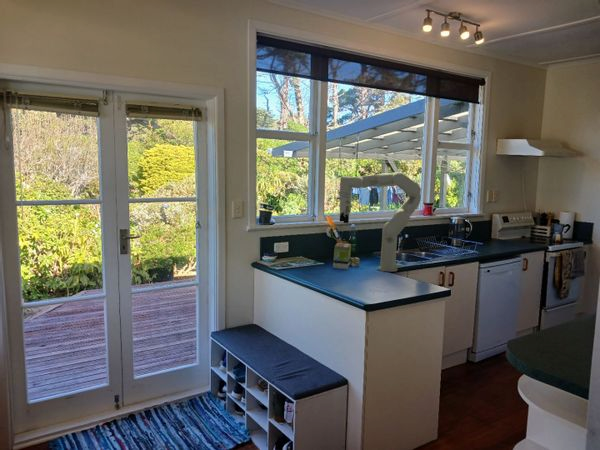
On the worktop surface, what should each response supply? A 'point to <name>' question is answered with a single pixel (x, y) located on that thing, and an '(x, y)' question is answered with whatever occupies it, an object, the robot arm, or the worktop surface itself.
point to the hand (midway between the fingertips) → (343, 222)
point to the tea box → (342, 256)
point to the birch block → (354, 261)
